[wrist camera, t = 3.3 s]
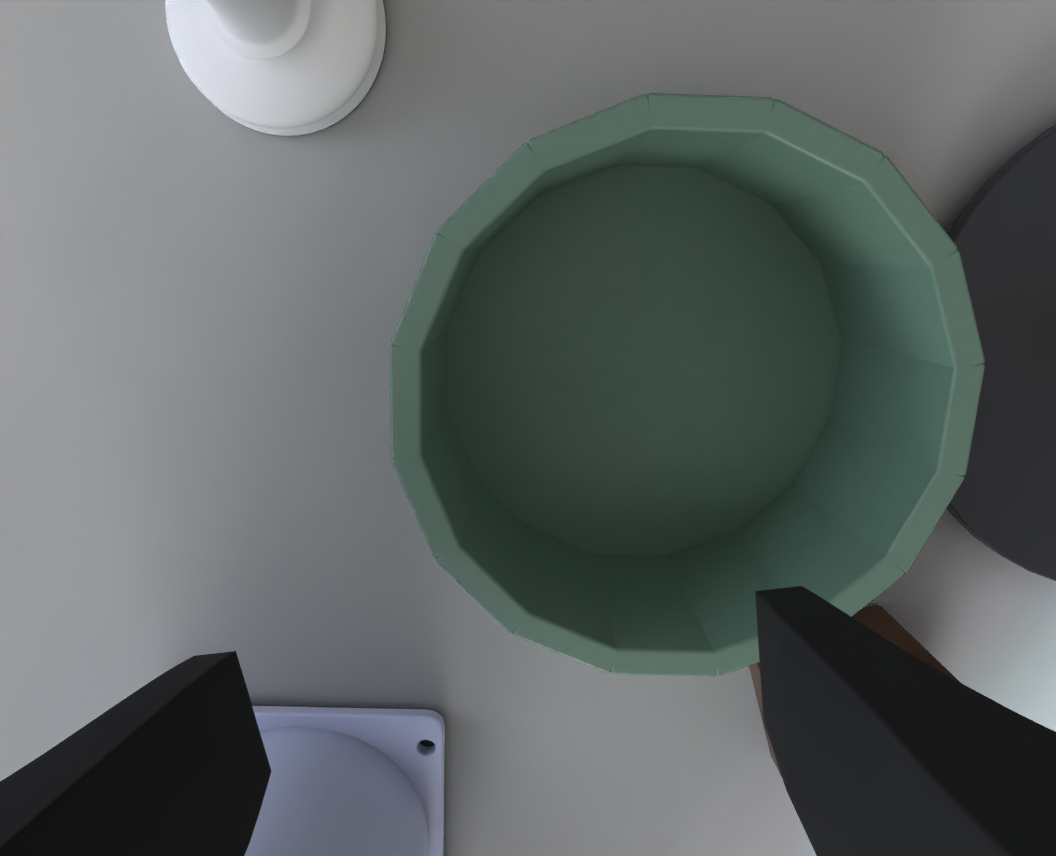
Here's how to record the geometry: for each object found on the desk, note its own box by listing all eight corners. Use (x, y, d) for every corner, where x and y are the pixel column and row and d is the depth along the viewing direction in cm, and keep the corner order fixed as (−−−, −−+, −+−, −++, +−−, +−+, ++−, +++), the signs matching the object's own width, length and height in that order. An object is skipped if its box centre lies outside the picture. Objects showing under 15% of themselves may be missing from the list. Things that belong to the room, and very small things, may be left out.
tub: (825, 573, 20) (931, 682, 15) (425, 563, 20) (392, 670, 15) (882, 151, 18) (1032, 106, 13) (425, 134, 18) (386, 81, 12)
